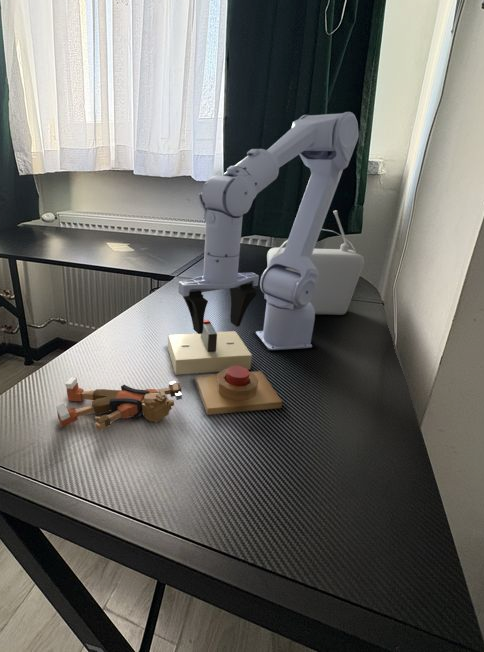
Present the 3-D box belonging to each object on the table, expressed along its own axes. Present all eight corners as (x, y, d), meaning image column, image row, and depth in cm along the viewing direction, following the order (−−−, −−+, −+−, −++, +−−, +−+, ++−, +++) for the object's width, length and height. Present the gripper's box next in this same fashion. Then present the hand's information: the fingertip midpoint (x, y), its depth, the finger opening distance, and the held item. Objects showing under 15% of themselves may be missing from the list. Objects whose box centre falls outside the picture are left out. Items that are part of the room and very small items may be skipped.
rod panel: (234, 343, 78) (235, 329, 77) (250, 369, 69) (252, 354, 68) (167, 347, 76) (167, 333, 75) (175, 375, 67) (175, 359, 66)
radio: (342, 304, 100) (361, 209, 91) (354, 317, 93) (376, 214, 83) (259, 301, 101) (270, 206, 92) (265, 314, 93) (277, 211, 84)
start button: (244, 374, 63) (245, 365, 62) (251, 386, 60) (252, 377, 59) (223, 375, 62) (224, 366, 62) (229, 388, 59) (230, 378, 58)
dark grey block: (216, 351, 69) (217, 332, 67) (207, 352, 69) (208, 333, 67) (208, 336, 74) (209, 319, 73) (200, 337, 74) (201, 319, 73)
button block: (260, 376, 67) (262, 361, 66) (281, 408, 59) (284, 392, 58) (194, 381, 65) (195, 366, 64) (206, 415, 57) (208, 398, 56)
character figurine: (79, 365, 63) (184, 368, 59) (84, 390, 65) (187, 394, 61) (41, 410, 52) (167, 417, 48) (48, 439, 54) (171, 447, 50)
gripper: (245, 244, 68) (239, 313, 73) (171, 250, 62) (170, 325, 67) (269, 253, 62) (260, 328, 67) (190, 261, 56) (187, 342, 61)
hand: (216, 327), depth 67 cm, fingers open, 7 cm apart
